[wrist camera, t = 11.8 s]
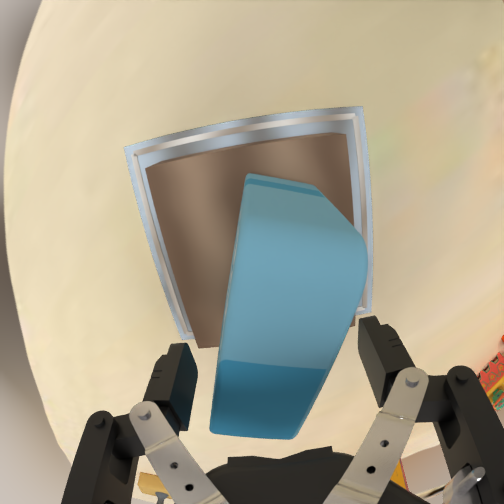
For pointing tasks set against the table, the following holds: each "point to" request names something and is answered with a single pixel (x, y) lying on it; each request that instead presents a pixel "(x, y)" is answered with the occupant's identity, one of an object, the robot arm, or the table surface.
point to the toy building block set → (497, 389)
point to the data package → (284, 307)
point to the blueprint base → (240, 198)
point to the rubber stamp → (153, 487)
